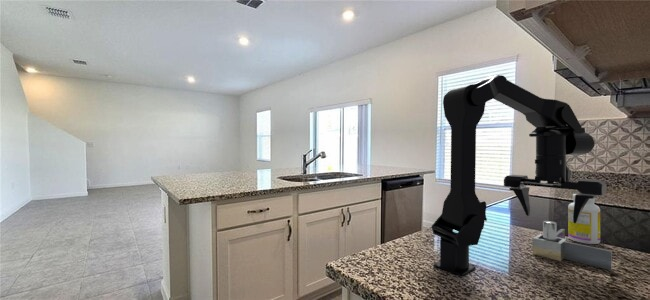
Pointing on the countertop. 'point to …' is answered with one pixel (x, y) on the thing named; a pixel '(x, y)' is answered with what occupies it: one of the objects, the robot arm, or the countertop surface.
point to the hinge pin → (550, 231)
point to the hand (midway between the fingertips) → (550, 219)
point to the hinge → (571, 251)
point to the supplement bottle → (585, 223)
